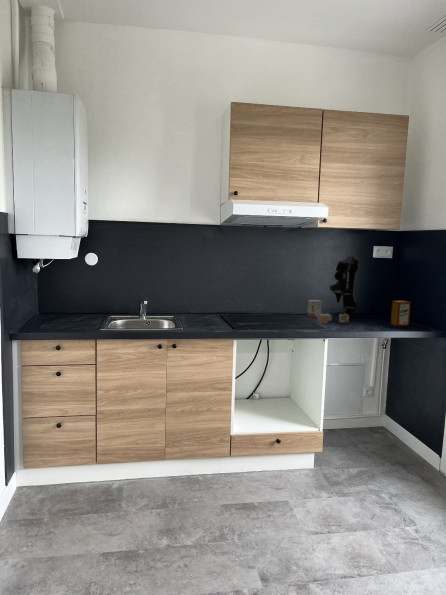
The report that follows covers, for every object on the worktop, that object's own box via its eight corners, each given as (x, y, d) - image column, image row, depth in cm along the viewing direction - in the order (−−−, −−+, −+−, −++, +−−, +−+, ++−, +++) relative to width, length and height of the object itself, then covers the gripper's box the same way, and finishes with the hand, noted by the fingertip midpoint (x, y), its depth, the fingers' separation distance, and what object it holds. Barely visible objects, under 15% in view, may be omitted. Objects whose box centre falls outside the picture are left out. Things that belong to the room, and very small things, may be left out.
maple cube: (346, 321, 305) (346, 314, 305) (348, 322, 300) (349, 315, 300) (338, 321, 305) (339, 313, 304) (341, 322, 300) (341, 315, 299)
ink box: (310, 317, 317) (310, 300, 316) (307, 316, 322) (308, 299, 320) (321, 317, 319) (322, 300, 318) (318, 316, 324) (319, 299, 322)
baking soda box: (397, 326, 292) (399, 301, 290) (390, 324, 298) (392, 300, 297) (409, 325, 296) (410, 301, 294) (401, 323, 302) (403, 300, 300)
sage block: (328, 319, 312) (328, 313, 311) (331, 321, 305) (331, 315, 304) (318, 319, 311) (318, 313, 311) (321, 321, 304) (321, 315, 304)
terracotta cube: (323, 322, 300) (324, 314, 299) (327, 323, 295) (328, 315, 295) (316, 322, 298) (317, 314, 298) (320, 323, 294) (321, 316, 293)
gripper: (325, 278, 307) (324, 301, 308) (337, 280, 288) (335, 304, 290) (340, 279, 309) (339, 302, 310) (353, 281, 290) (351, 305, 292)
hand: (340, 303), depth 300 cm, fingers open, 9 cm apart
